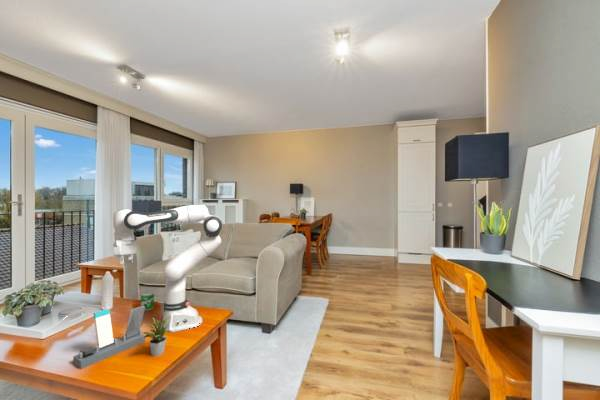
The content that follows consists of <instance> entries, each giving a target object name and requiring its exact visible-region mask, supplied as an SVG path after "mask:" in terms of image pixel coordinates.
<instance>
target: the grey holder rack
mask: <svg viewBox="0 0 600 400" xmlns="http://www.w3.org/2000/svg"><path fill="white" fill-rule="evenodd" d="M139 332H142V329H141V328H140V330H139ZM145 335H146V334H144V333H139V334H137V335H134V336H132V337H129V338H127V339H126V336H125V334H123V335H121V337H120V338H119V337H118V338H115V337H113V339H114V343H111V344H109V345H106V346H104V347H101V348H99V346H98V345H96V344H95V345H94V348H97V351H95V352H92V353H90V354H87V355H84V354H83V353H82V352H80V351H79V352H78V353H77V354H76V355H73V359H72V360H73V362H72V363H73V364H74V365H75V366H76V367H78V368H79V369H81V370H83V369H84V367H85V368H86V367H87V368H88V366H89V367H90V366H91V365H93V364H96V363H98V362H101V361H103V360H105V359H107V358H111V357H113V356H115V355H117V354H119V353H121V352H123V351H126V350H129V349H131V348H133V347H135V346H138V345H140V344H143V343H145V341H146V338H144V336H145ZM143 338H144V339H143Z"/></svg>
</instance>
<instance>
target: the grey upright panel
mask: <svg viewBox="0 0 600 400" xmlns="http://www.w3.org/2000/svg"><path fill="white" fill-rule="evenodd" d="M144 310H145V306H144V305H143V306H141V305H139V306H137V307H134V308H131V309H130V313H129V318H128V321H127V326H126V329H125V330H126V331H125V334H124V335H125V336H126V339H127V338H129V337H132V336H134V335H137V334H139V330H140V329H141V325H142V323H143V317H144V313H145V311H144Z"/></svg>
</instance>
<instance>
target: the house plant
mask: <svg viewBox="0 0 600 400" xmlns="http://www.w3.org/2000/svg"><path fill="white" fill-rule="evenodd" d="M168 317H169V316H168ZM168 317H167V318H166V319H164V320H163V319H162V321H161V319H159V320H158V319H156V318H154V317H152V320H153V322H151V324H152V325H153V326H152V325H150V324H147V323H142V325H144V326H147V327H149V330H150V331H149V332H148V331H141V332H139V333H141V334H143V335H145V336H144V338H145V339H146V338H151V339H150V340H149V346H150V353H151V356H152V357H158V356H161V355H163V354H164V351H165V346H166V342H167V337H166V336H164V335H165V334H167V333H169V332H170V333H172V332H171V331H167V330H165V329H167V327H165V325H166V324H167V322H168V320H169V319H168ZM167 319H168V320H167ZM166 320H167V322H166ZM163 321H164V322H163ZM165 322H166V324H165ZM169 322H170V321H169ZM162 323H163V324H162ZM164 324H165V325H164ZM167 325H168V324H167ZM167 325H166V326H167ZM161 326H162V328H161ZM164 327H165V328H164ZM144 338H143V339H144Z"/></svg>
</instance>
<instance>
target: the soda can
mask: <svg viewBox="0 0 600 400" xmlns="http://www.w3.org/2000/svg"><path fill="white" fill-rule="evenodd" d="M154 303H155V292H154V291H153V290H144V291H142V292H141V294H140V306H143V305H144V306H145V310H144V312H149V311H151V310H153V309H154V307H155V306H154Z"/></svg>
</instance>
